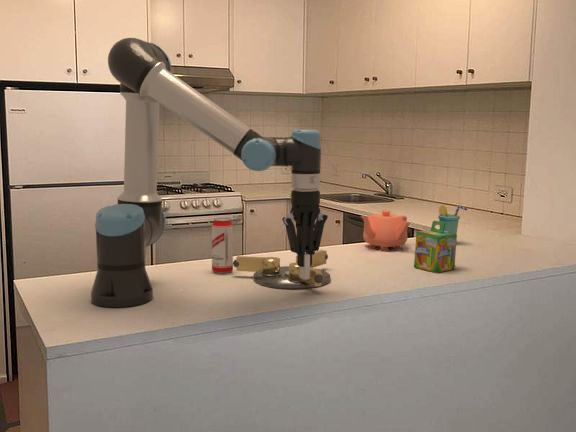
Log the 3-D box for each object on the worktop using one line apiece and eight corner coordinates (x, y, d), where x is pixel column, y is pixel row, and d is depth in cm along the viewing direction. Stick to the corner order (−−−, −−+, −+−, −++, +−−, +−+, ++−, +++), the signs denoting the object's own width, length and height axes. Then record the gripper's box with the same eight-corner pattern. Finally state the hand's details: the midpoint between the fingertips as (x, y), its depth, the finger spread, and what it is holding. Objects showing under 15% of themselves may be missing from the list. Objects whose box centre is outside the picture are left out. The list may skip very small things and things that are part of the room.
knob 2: (306, 272, 184) (306, 258, 183) (292, 269, 187) (292, 255, 186) (332, 264, 194) (333, 250, 194) (319, 261, 197) (319, 248, 197)
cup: (471, 246, 232) (473, 205, 230) (457, 248, 228) (459, 207, 225) (442, 240, 244) (444, 201, 241) (428, 242, 239) (429, 202, 237)
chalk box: (413, 268, 198) (415, 221, 196) (432, 264, 204) (434, 218, 202) (437, 273, 191) (439, 225, 189) (456, 269, 197) (458, 222, 195)
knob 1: (281, 270, 185) (281, 256, 185) (278, 274, 181) (278, 260, 180) (235, 268, 187) (235, 254, 187) (231, 272, 182) (231, 258, 182)
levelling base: (278, 293, 168) (278, 284, 167) (239, 275, 186) (239, 267, 186) (345, 283, 179) (345, 274, 179) (303, 267, 198) (303, 259, 197)
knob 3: (285, 277, 178) (285, 263, 177) (300, 275, 180) (301, 261, 180) (313, 289, 166) (313, 273, 165) (328, 286, 169) (329, 271, 168)
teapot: (408, 253, 219) (410, 214, 217) (359, 251, 222) (360, 213, 220) (406, 244, 235) (407, 208, 233) (360, 242, 237) (360, 207, 235)
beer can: (222, 268, 195) (222, 216, 192) (237, 271, 191) (237, 219, 188) (207, 272, 190) (207, 219, 187) (222, 275, 186) (222, 221, 183)
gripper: (291, 192, 159) (291, 284, 162) (334, 189, 165) (332, 278, 169) (276, 189, 165) (276, 278, 169) (318, 186, 172) (317, 272, 175)
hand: (304, 278), depth 169 cm, fingers closed
